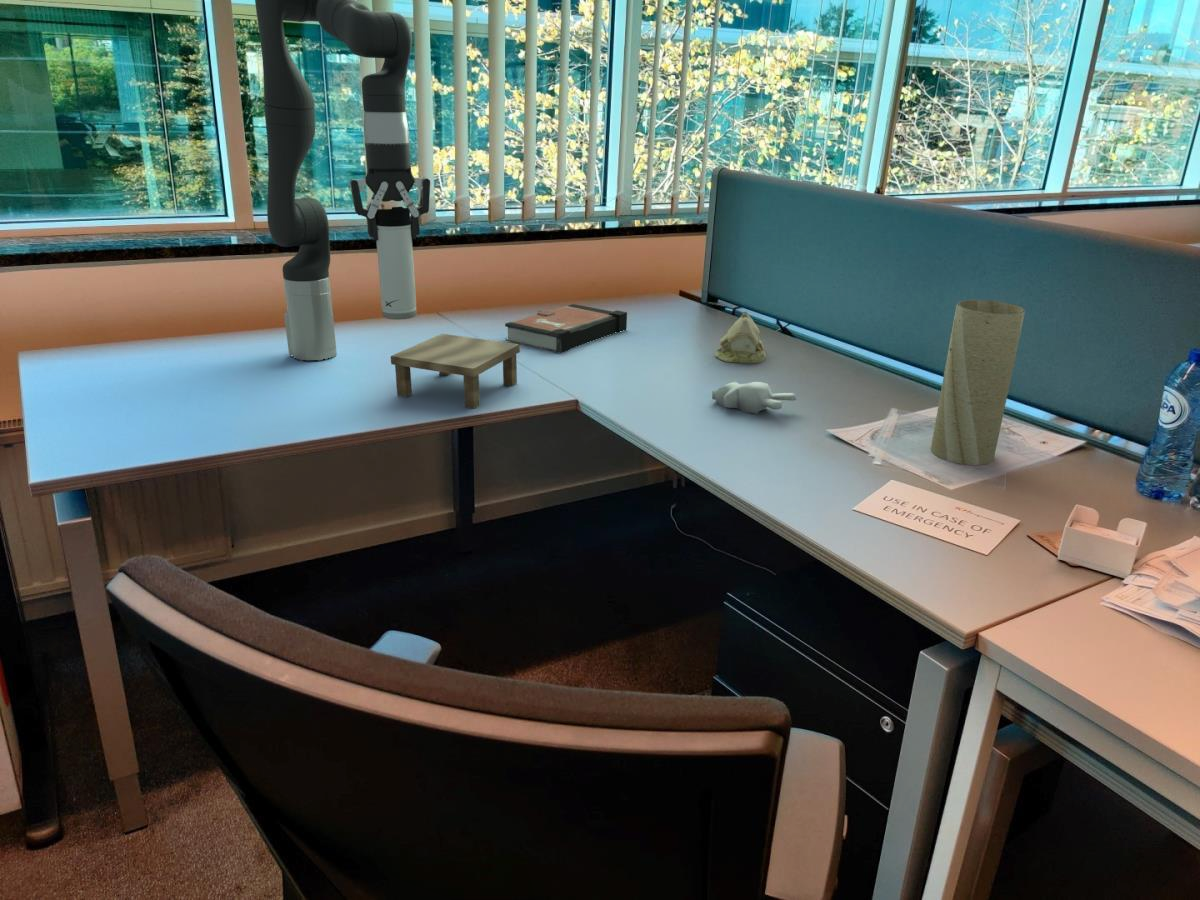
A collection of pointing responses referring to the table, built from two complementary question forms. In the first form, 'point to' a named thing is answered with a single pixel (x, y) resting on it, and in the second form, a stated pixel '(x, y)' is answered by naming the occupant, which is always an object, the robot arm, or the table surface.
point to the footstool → (456, 362)
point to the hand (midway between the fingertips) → (394, 238)
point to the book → (565, 327)
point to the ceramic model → (742, 342)
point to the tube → (976, 380)
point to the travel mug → (396, 263)
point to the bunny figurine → (750, 397)
